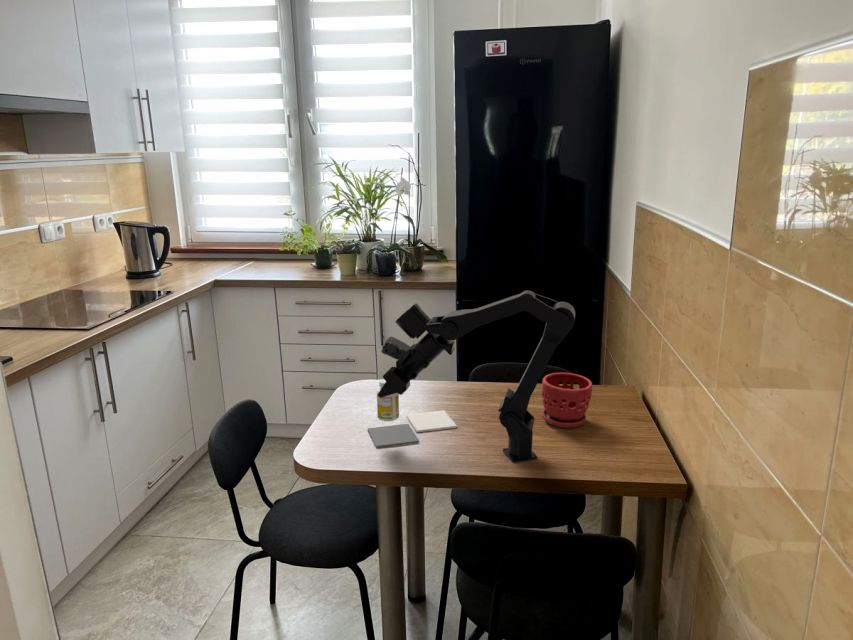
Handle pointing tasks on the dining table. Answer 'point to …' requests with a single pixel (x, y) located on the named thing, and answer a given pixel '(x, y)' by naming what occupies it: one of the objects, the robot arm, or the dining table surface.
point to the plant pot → (565, 399)
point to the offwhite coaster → (431, 421)
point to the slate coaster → (392, 435)
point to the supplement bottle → (387, 405)
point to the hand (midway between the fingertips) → (382, 392)
